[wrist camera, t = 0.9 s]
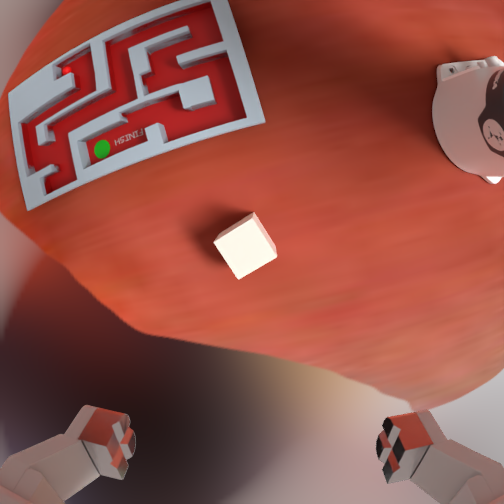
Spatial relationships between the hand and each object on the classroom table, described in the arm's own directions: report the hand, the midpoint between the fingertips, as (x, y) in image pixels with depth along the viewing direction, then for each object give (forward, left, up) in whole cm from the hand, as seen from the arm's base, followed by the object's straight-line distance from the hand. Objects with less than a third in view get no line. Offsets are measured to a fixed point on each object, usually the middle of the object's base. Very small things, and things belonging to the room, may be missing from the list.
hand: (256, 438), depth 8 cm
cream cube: (+2, 0, -31) cm, 31 cm away
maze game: (+7, -26, -32) cm, 41 cm away
